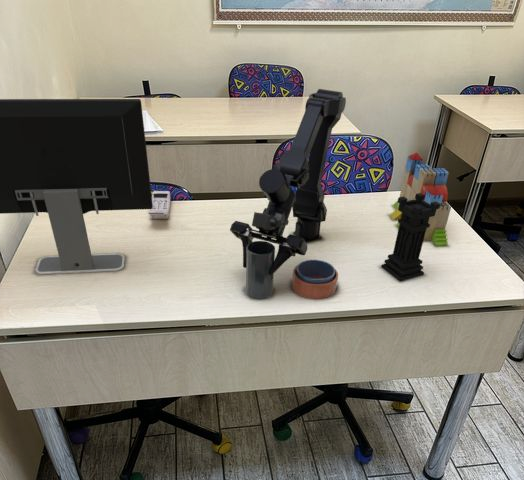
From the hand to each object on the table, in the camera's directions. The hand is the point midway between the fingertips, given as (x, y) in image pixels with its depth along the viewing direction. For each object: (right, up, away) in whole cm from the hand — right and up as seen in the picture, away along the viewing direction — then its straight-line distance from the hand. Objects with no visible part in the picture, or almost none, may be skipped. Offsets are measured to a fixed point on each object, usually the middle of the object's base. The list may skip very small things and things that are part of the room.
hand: (257, 271), depth 123 cm
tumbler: (0, -4, +5) cm, 7 cm away
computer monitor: (-47, +4, +12) cm, 49 cm away
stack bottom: (+14, -3, +8) cm, 17 cm away
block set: (+50, +20, +37) cm, 66 cm away
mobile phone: (-31, +24, +38) cm, 54 cm away
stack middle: (+14, -3, +8) cm, 17 cm away
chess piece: (+39, +2, +15) cm, 42 cm away
